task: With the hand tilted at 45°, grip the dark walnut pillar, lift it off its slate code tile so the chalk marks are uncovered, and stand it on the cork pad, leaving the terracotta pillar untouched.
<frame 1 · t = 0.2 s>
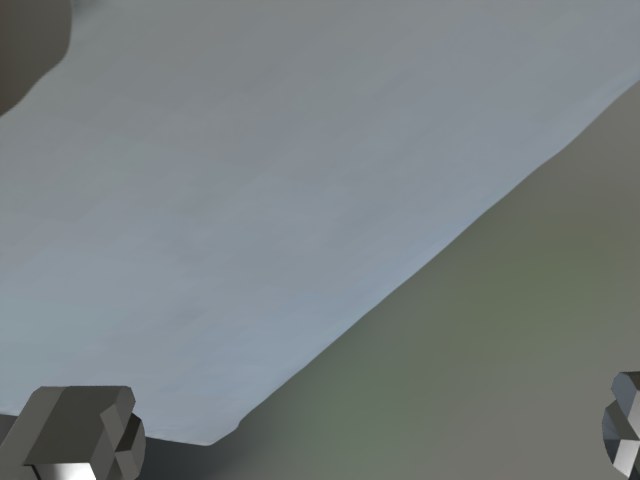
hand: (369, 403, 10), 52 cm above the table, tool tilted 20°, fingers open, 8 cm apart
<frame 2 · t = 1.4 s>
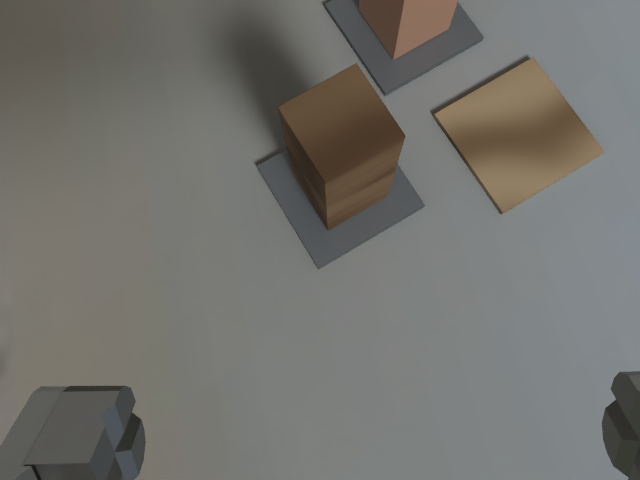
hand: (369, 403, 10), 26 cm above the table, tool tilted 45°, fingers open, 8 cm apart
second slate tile: (402, 23, 41), on the table
terracotta pillar: (403, 19, 40), resting on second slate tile
cork pad: (516, 134, 39), on the table
walnut pillar: (339, 184, 38), resting on slate code tile
slate code tile: (339, 187, 38), on the table
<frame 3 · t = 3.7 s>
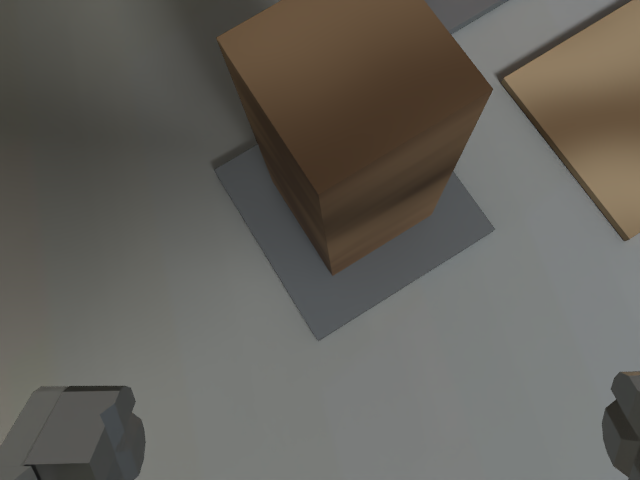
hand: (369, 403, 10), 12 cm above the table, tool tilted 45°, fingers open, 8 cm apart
walnut pillar: (350, 197, 23), resting on slate code tile
slate code tile: (350, 201, 23), on the table
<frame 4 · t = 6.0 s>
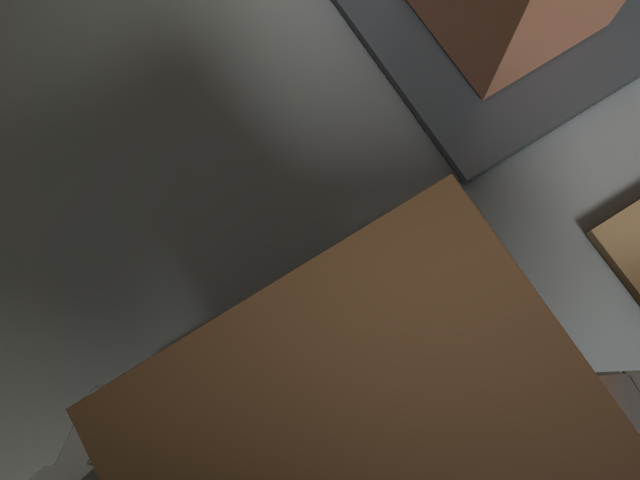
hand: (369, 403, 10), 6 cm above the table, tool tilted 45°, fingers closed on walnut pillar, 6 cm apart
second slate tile: (497, 16, 18), on the table
terracotta pillar: (501, 6, 18), resting on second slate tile
walnut pillar: (364, 421, 15), resting on slate code tile, touching gripper
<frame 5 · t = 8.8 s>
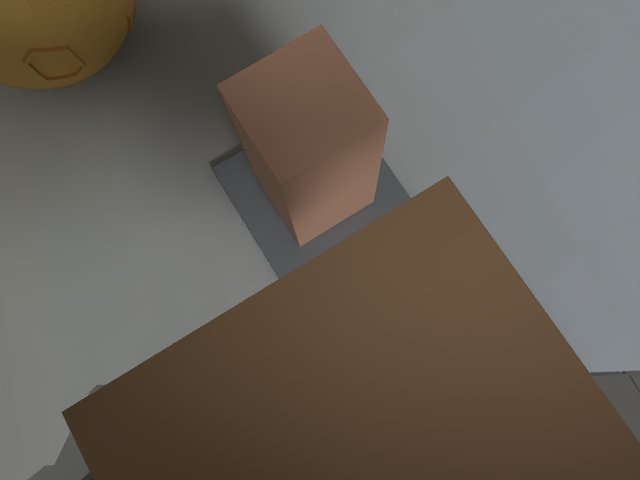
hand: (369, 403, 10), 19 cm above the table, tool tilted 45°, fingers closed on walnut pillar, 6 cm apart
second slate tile: (314, 192, 31), on the table
stress ball: (76, 47, 34), on the table
terracotta pillar: (314, 189, 31), resting on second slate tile
walnut pillar: (362, 422, 15), point 14 cm above the table, touching gripper
when the fingers open (8 cm above the table, at t = 11.8 s): walnut pillar drops 2 cm, resting on cork pad.
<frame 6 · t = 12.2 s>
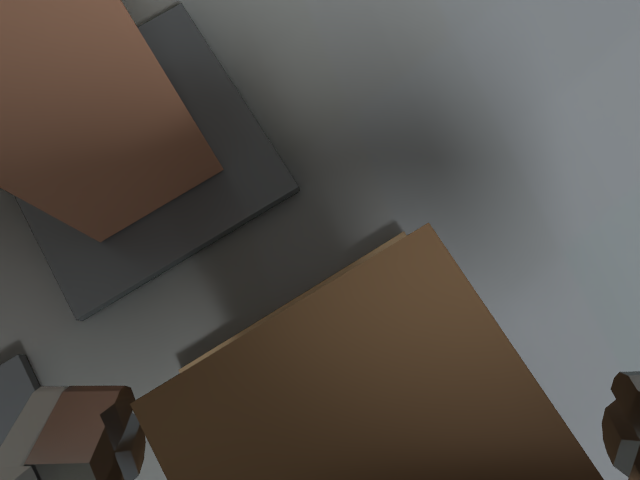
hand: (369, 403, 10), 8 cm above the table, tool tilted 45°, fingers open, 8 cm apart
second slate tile: (136, 155, 19), on the table
terracotta pillar: (130, 149, 19), resting on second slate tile
cork pad: (363, 416, 17), on the table
walnut pillar: (362, 418, 17), resting on cork pad
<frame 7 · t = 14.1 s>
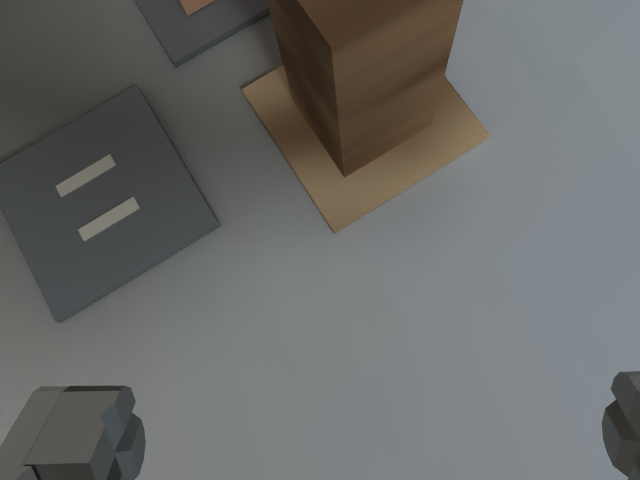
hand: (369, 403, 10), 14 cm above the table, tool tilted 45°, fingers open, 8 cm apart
cork pad: (362, 115, 26), on the table
walnut pillar: (360, 112, 26), resting on cork pad
slate code tile: (101, 200, 26), on the table
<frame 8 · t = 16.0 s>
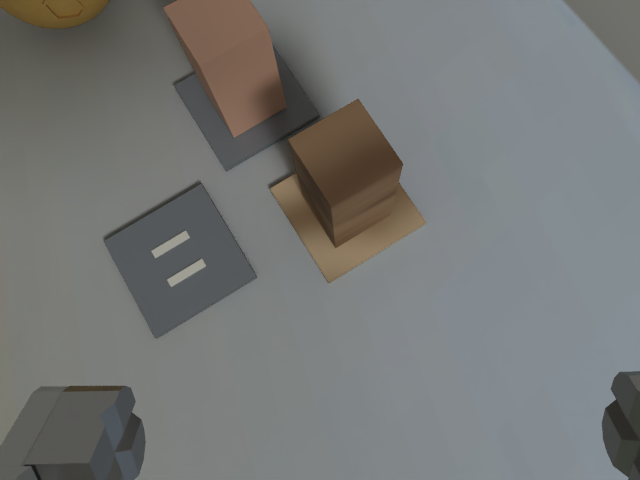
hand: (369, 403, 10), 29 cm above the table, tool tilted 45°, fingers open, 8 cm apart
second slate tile: (246, 102, 44), on the table
stress ball: (79, 3, 47), on the table
terracotta pillar: (245, 99, 43), resting on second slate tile
cork pad: (346, 206, 41), on the table
walnut pillar: (346, 205, 41), resting on cork pad
slate code tile: (180, 259, 41), on the table
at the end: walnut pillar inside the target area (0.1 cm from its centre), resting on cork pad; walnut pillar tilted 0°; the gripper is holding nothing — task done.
